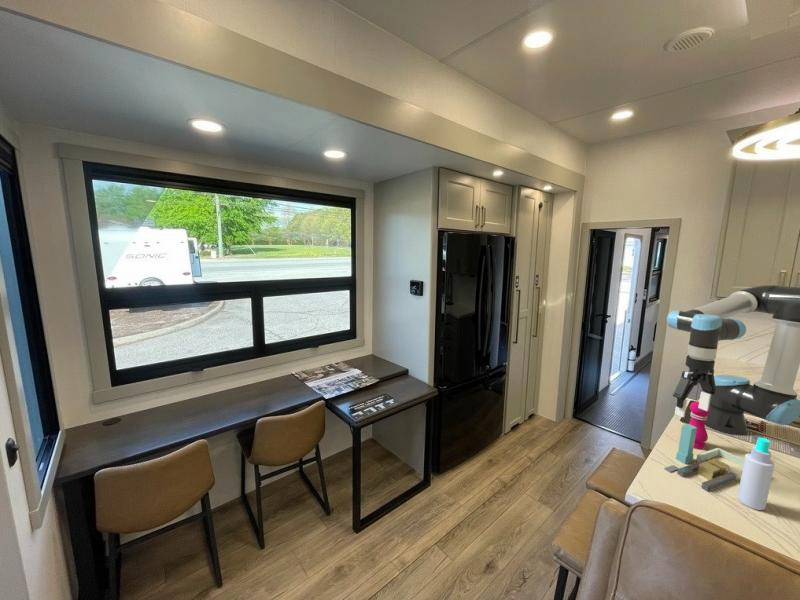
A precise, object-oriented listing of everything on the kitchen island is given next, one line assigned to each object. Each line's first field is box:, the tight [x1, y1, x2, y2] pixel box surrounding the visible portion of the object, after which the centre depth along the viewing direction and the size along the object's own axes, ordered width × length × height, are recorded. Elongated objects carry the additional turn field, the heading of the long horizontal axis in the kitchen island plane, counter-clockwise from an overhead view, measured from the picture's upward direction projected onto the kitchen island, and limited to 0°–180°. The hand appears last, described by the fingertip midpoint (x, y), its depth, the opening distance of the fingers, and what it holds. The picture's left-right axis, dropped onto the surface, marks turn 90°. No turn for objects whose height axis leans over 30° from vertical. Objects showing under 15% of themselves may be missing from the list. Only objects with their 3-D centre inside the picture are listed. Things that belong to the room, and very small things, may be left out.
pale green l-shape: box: [695, 447, 745, 468], centre depth 118 cm, size 13×14×2 cm
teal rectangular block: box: [675, 423, 697, 465], centre depth 122 cm, size 3×4×14 cm
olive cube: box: [708, 458, 730, 476], centre depth 116 cm, size 4×4×4 cm
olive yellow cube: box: [697, 462, 720, 481], centre depth 114 cm, size 4×4×4 cm
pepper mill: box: [688, 398, 710, 450], centre depth 131 cm, size 7×7×20 cm
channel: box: [676, 459, 738, 492], centre depth 114 cm, size 16×9×2 cm, turn 109°
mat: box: [663, 464, 680, 473], centre depth 118 cm, size 5×2×1 cm, turn 109°
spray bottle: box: [737, 437, 775, 511], centre depth 101 cm, size 6×6×22 cm
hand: (691, 412), depth 120 cm, fingers open, 13 cm apart
